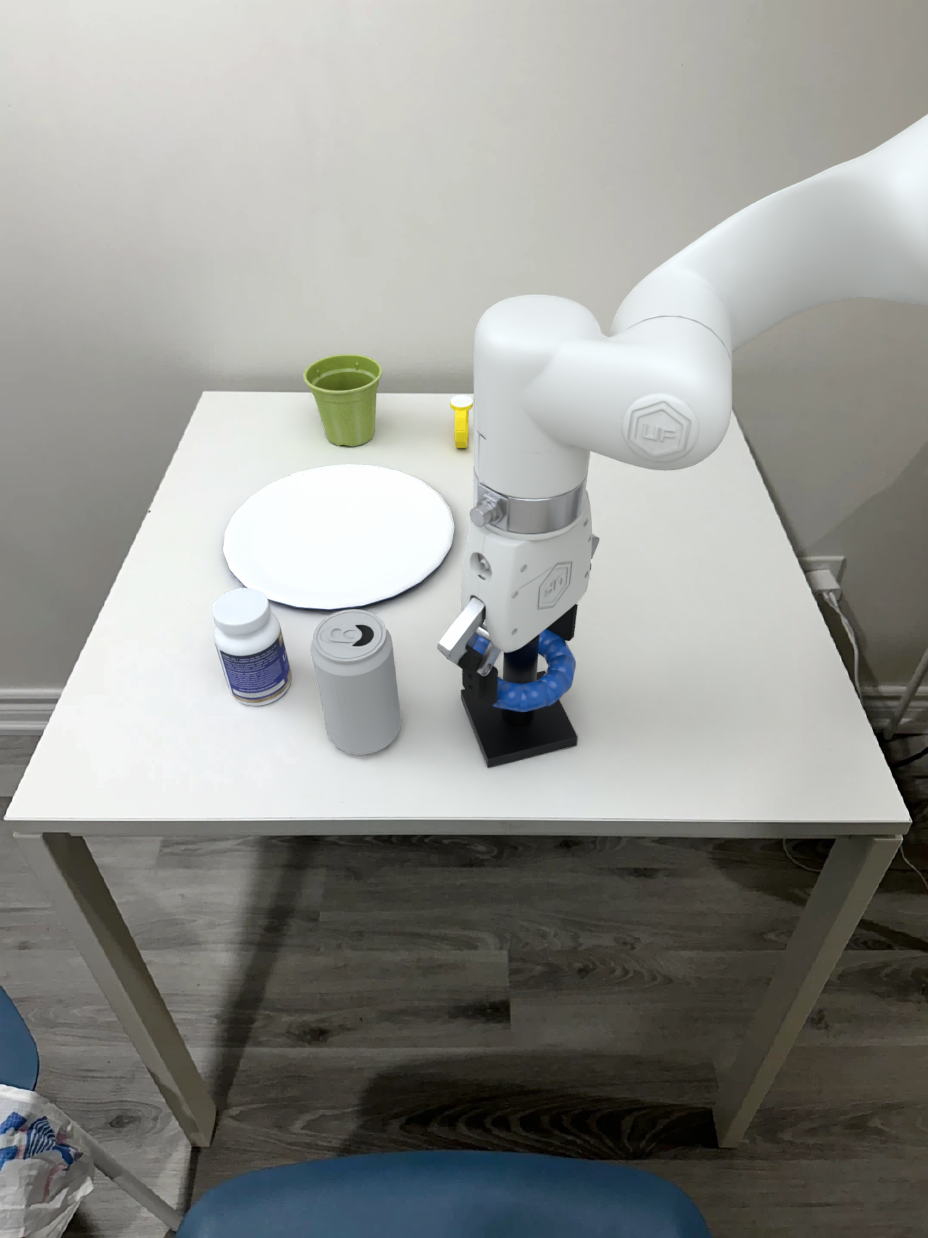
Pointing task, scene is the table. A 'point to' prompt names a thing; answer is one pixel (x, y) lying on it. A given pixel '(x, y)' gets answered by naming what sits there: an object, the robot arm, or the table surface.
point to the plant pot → (345, 396)
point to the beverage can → (356, 681)
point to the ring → (548, 685)
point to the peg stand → (519, 717)
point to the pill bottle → (250, 647)
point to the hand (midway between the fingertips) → (519, 662)
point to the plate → (339, 536)
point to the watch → (461, 418)
